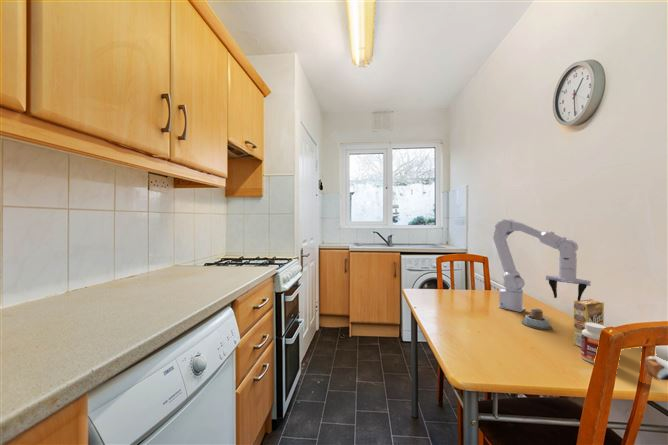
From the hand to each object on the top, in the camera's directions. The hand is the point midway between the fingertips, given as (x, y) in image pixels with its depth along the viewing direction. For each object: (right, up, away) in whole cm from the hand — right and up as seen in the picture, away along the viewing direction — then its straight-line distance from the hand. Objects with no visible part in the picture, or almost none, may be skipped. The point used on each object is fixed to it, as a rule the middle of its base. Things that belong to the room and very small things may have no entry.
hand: (566, 299), depth 117 cm
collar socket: (-17, -9, -5) cm, 20 cm away
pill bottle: (-21, -10, -34) cm, 40 cm away
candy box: (-13, -10, -23) cm, 28 cm away
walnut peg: (-17, -9, -5) cm, 20 cm away
